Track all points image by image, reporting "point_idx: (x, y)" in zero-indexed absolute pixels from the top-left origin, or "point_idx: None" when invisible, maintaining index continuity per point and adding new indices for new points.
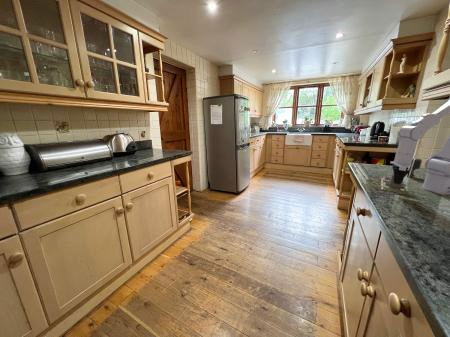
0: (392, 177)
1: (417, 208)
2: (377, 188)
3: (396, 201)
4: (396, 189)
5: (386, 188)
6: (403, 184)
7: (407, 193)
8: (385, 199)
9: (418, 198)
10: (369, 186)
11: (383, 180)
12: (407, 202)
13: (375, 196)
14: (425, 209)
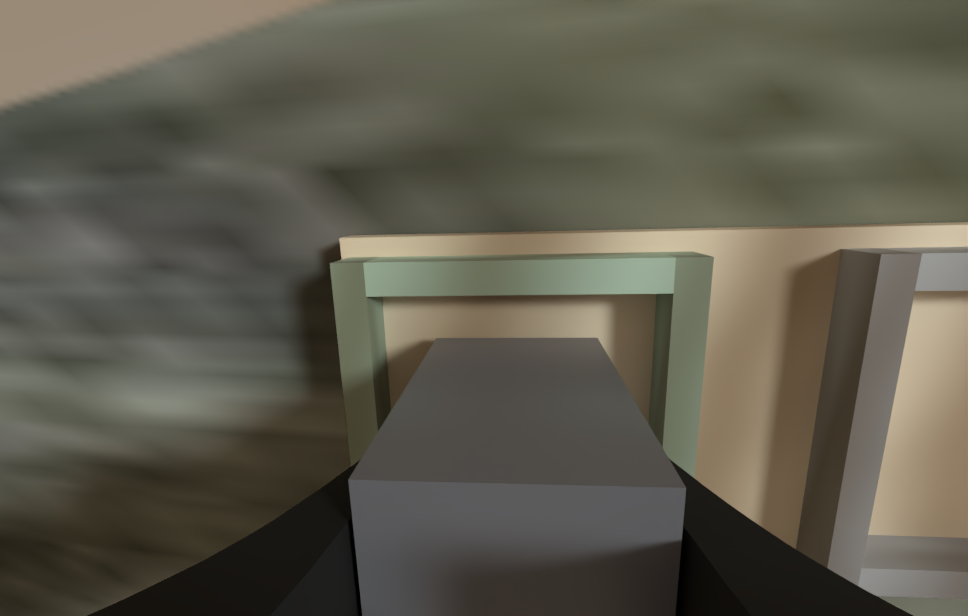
0: (374, 462)
1: (29, 551)
2: (468, 184)
3: (61, 399)
4: (350, 439)
5: (343, 307)
6: (822, 555)
7: None
8: (16, 293)
9: None
10: (491, 54)
11: (881, 258)
12: (137, 495)
13: (18, 179)
14: (69, 604)
